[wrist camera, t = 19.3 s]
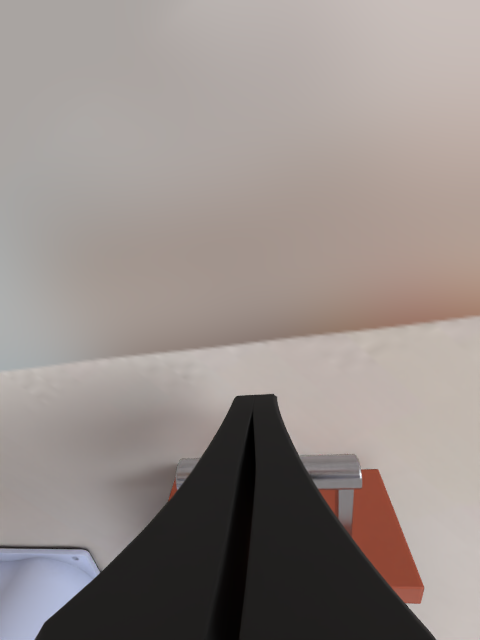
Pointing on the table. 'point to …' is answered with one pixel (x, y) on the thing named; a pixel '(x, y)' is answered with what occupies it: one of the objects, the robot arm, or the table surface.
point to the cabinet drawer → (357, 516)
